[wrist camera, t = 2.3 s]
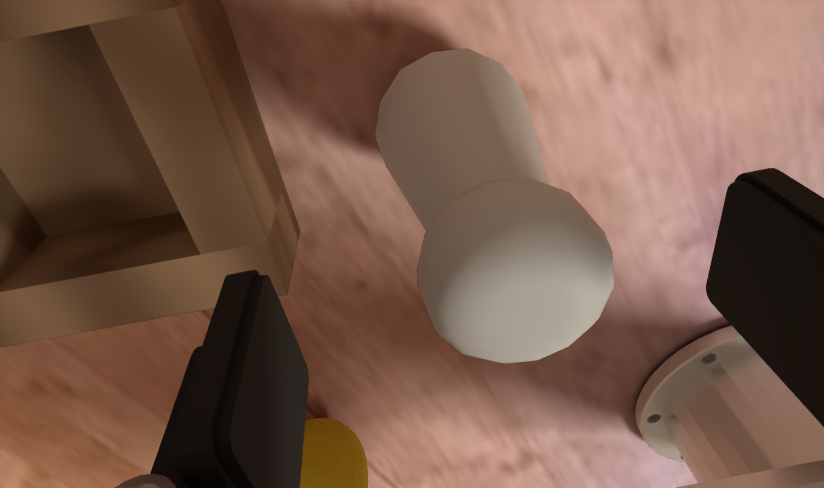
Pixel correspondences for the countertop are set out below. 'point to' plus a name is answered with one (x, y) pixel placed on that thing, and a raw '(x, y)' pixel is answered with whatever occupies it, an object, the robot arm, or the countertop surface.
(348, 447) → the lemon
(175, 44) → the shaker holder
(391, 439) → the countertop surface
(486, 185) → the salt shaker
